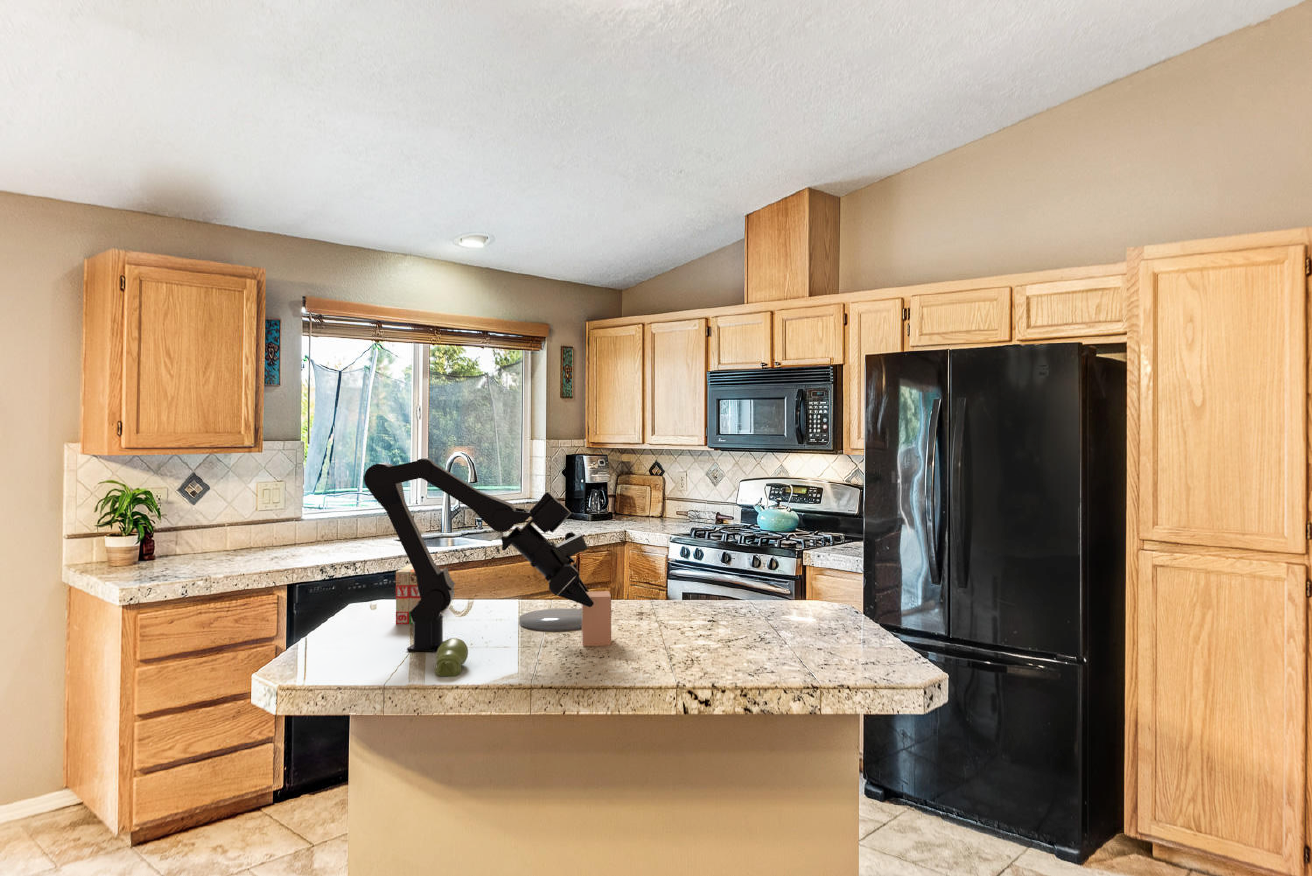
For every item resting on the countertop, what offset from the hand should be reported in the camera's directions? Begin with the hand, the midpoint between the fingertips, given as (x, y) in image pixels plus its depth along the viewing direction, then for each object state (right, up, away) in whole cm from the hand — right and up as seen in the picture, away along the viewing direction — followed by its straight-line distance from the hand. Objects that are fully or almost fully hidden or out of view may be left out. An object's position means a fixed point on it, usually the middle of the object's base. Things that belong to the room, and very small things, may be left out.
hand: (590, 600), depth 174 cm
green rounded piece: (-24, -9, -20) cm, 33 cm away
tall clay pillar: (+1, -9, 0) cm, 9 cm away
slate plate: (-9, -9, +19) cm, 23 cm away
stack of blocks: (-43, -9, +28) cm, 52 cm away
